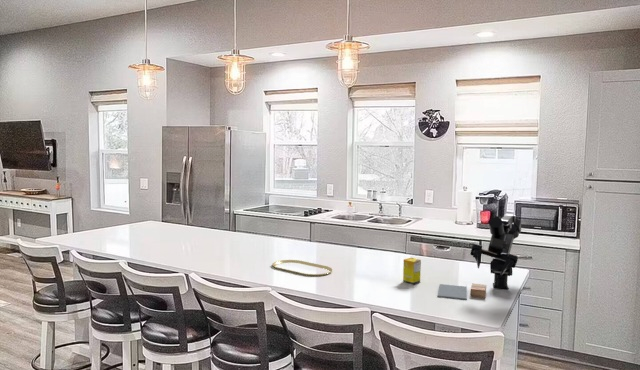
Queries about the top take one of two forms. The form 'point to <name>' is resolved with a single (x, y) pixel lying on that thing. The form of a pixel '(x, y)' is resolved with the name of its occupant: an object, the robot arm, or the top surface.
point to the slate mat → (452, 291)
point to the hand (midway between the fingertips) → (489, 271)
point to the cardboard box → (478, 290)
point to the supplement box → (411, 270)
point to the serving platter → (304, 264)
